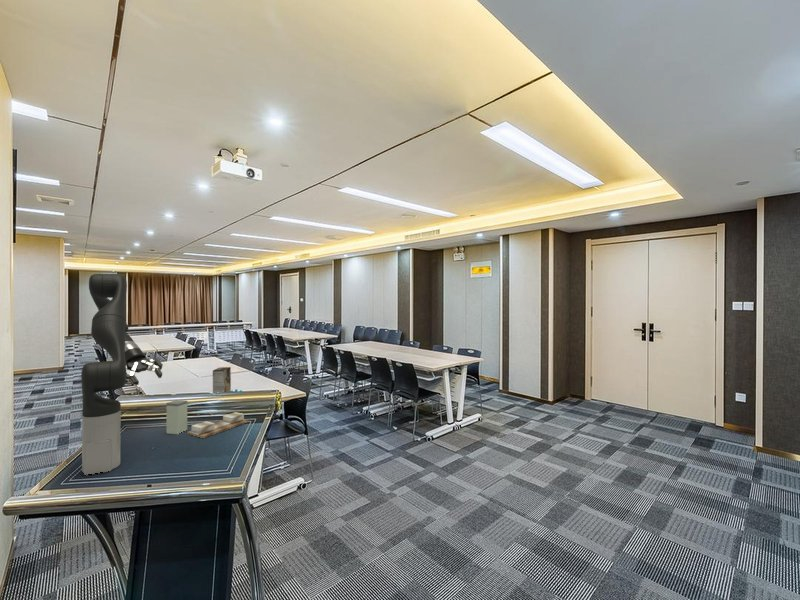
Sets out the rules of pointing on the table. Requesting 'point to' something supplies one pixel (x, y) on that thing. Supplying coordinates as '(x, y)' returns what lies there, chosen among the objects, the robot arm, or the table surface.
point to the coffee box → (222, 379)
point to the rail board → (217, 425)
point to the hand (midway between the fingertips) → (149, 380)
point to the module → (176, 416)
